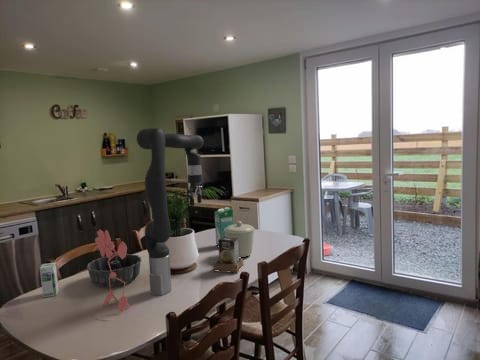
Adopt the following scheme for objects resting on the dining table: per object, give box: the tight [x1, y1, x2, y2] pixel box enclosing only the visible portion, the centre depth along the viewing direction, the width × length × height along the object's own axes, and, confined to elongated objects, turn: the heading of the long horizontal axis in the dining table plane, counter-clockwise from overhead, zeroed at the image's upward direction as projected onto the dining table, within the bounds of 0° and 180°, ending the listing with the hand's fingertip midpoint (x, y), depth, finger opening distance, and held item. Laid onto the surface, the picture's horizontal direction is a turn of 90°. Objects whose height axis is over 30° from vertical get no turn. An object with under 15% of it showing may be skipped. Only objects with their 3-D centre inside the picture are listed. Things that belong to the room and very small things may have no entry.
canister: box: [224, 220, 255, 258], centre depth 214 cm, size 18×18×21 cm
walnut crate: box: [213, 258, 244, 273], centre depth 194 cm, size 10×13×4 cm
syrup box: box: [39, 262, 59, 298], centre depth 169 cm, size 6×6×14 cm
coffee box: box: [218, 237, 239, 264], centre depth 192 cm, size 9×6×16 cm
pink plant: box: [92, 229, 131, 322], centre depth 149 cm, size 15×26×35 cm, turn 51°
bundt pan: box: [86, 253, 143, 288], centre depth 184 cm, size 26×26×10 cm
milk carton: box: [214, 206, 234, 247], centre depth 234 cm, size 9×9×25 cm
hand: (195, 204), depth 191 cm, fingers open, 8 cm apart
